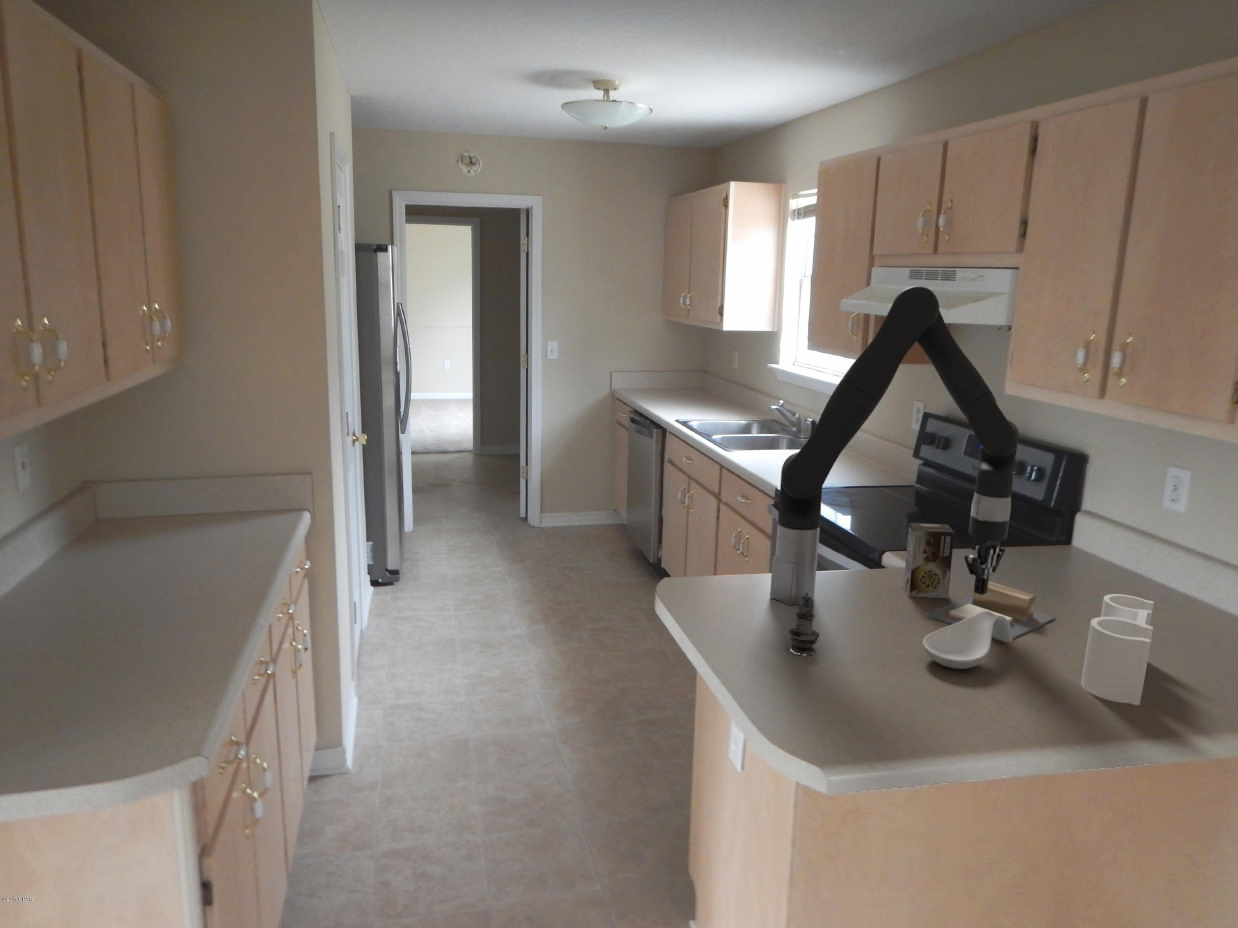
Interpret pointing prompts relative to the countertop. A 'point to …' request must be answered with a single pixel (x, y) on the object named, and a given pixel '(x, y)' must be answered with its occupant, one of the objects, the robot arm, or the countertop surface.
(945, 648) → the spoon rest
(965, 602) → the mat
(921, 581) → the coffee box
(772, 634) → the countertop surface
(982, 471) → the robot arm
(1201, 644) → the countertop surface
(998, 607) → the block
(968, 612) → the tile
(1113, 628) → the bracket
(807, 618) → the chess piece
